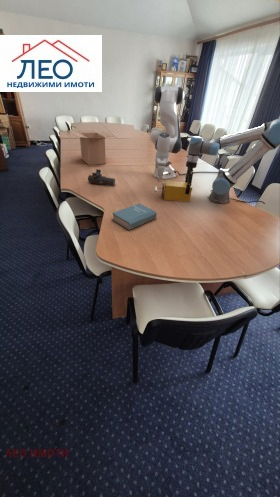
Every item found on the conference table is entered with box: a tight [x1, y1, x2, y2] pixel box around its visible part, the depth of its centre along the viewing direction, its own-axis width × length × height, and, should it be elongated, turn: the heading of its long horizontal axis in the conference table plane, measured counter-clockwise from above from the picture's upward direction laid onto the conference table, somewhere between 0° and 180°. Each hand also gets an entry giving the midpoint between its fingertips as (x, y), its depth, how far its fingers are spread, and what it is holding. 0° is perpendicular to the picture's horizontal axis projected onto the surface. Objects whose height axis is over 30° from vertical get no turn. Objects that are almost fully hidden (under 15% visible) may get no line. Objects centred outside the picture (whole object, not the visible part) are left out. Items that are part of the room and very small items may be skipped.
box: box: [70, 129, 114, 166], centre depth 229 cm, size 44×36×27 cm
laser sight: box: [87, 168, 116, 186], centre depth 182 cm, size 10×22×10 cm, turn 78°
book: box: [112, 202, 158, 231], centre depth 138 cm, size 23×16×5 cm
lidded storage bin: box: [163, 180, 193, 203], centre depth 168 cm, size 19×11×11 cm, turn 86°
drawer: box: [154, 181, 165, 199], centre depth 168 cm, size 24×10×9 cm, turn 86°
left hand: (159, 178), depth 164 cm, fingers open, 8 cm apart
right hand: (186, 191), depth 168 cm, fingers closed on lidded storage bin, 11 cm apart
